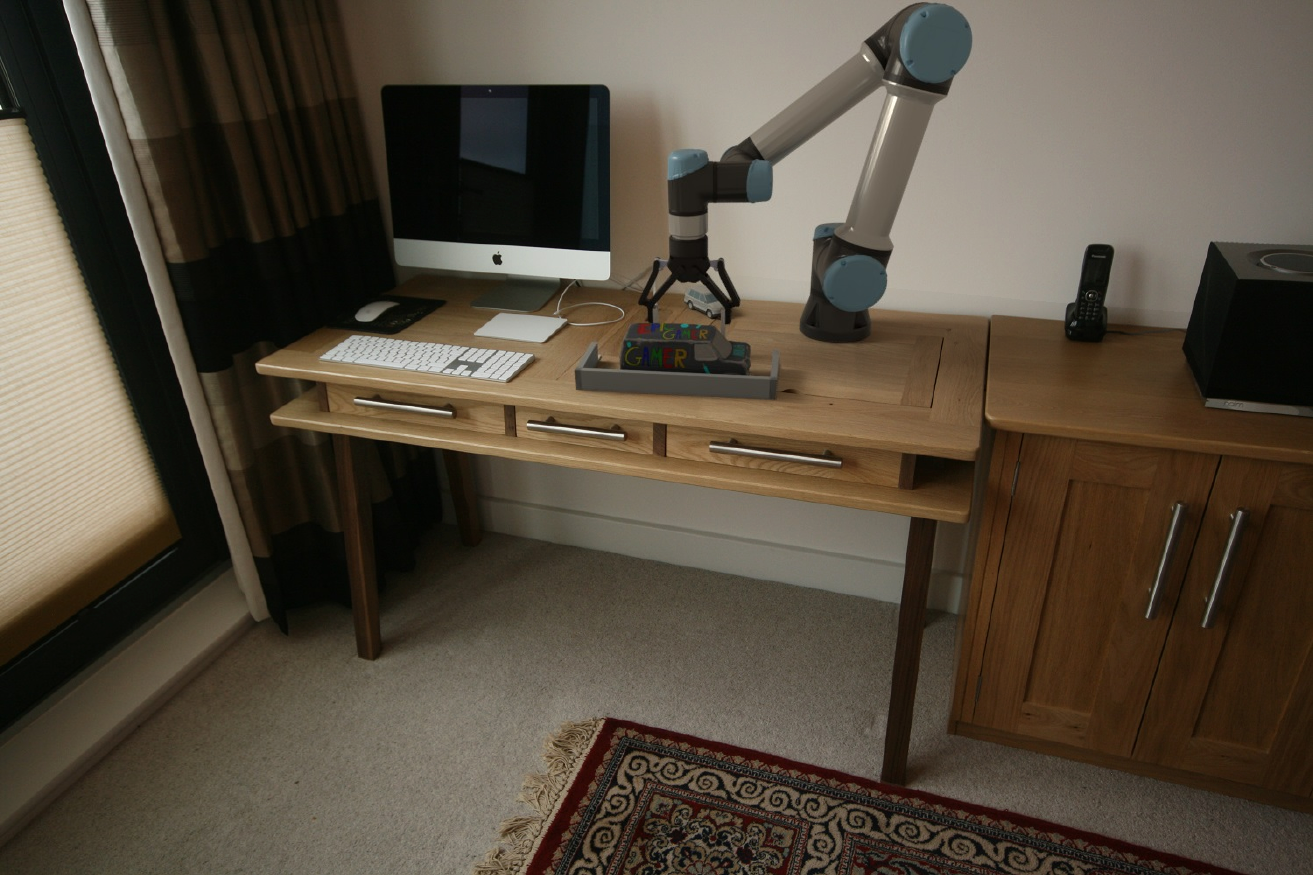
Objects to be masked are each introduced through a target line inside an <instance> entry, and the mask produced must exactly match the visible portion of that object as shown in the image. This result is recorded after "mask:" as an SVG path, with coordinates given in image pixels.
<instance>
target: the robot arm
mask: <svg viewBox="0 0 1313 875" xmlns="http://www.w3.org/2000/svg"><path fill="white" fill-rule="evenodd" d="M972 47H973V32H972V28H971V25H970V23H969V21H968V19H967V17H965V15H964V14H963V13H962V12H960V11H959V10H958V9H956V8H955V7H953V6H951V5H948V4H946V3H937V2H926V1H924V2H923V1H921V2H915V3H912V4H909V5H907V6H905V7H904V8H901V9H900V10H899V11H898V12H896V14H894V15H893V16H892V17H891V18H890V19H888V20H887V22H885V23H884V24H882V26H881V27H879V28H878V29H877V30H876V31H875V32H874V33H873V34H872V35H870V36H868V38H866V39H865V40H864V41H862V42H861V44H860V48H859V50H858V51H859V52H857V53H856V54H855V55H853V56H852V57H850V58H849V59H848V60H846V62H844V63H843V64H841V65H840V66H839V67H838V68H836V69H835V70H834V71H832V72H831V73H830V74H828V75H827V76H826V77H825V78H823V79H822V80H821V81H819V82H818V83H816V84H815V85H814V86H813V87H811V88H810V89H809V90H807V91H806V92H805V93H803V94H802V95H801V96H800V97H799V98H797V99H796V100H794V101H793V102H791V103H790V104H789V105H788V106H787V107H785V108H784V109H783V110H781V111H780V112H779V113H777V114H776V115H775V116H773V118H770V120H768V121H767V122H766V123H764V124H763V125H762V126H760V127H759V128H758V129H757V130H755V131H754V132H752V134H750V135H749V136H748V137H747V138H745V139H743V140H742V141H741V142H740V143H738V144H736V145H732V146H730V147H728V148H727V149H726V150H725V151H724V152H723V154H722V155H721V157H720V159H719V160H718V161H717V160H716V161H713V160H710V159H709V154H708V152H707V151H706V150H705V149H698V148H683V149H677V150H674V151H672V152H671V153H670V154H669V155H668V157H667V178H666V179H667V181H666V182H667V204H668V212H667V214H668V217H667V218H668V233H669V234H670V235H669V236H668V251H669V252H668V255H669V258H668V259H661V257H658V256H657V257H655V258H654V260H653V263H652V271H651V274H650V276H649V278H648V281H647V282H646V284H645V285H644V288H643V290H642V293H641V294H640V296H639V299H638V302H637V304H638V306H644V307H646V309H647V323H660V322H659V321H660V320H659V318H660V317H659V314H660V313H659V304H657V303H658V301H660V300H661V298H662V297H663V296H664V295H665V294H666V292H668V290H669V289H670V288H671V287H672V285H674V284H675V283H676V282H677V281H678V282H680V283H681V284H684V283H685V284H686V283H691V284H697V283H699V282H701V285H703V286H705V287H707V288H708V290H709V291H710V292H711V293H712V294H713V295H714V296H715V298H716V299H717V300H718V301H719V302H720V303H721V305H722V308H721V315H720V333H721V334H722V335H723V336H724V337H725V338H726V325H730V324H731V322H732V312H731V309H732V310H733V308H739V307H740V304H741V298H740V295H739V294H738V291H737V290H736V287H735V286H734V284H733V281H732V279H731V277H730V276H729V274H728V272H727V270H726V265H725V259H724V258H723V257H719V258H718V259H710V258H709V236H708V234H707V233H708V232H709V204H726V203H727V204H728V203H729V204H737V203H739V204H741V203H743V204H745V203H746V204H747V203H748V204H756V203H764V202H769V201H770V200H771V199H772V197H773V190H774V189H773V188H774V169H773V167H774V166H776V165H777V164H779V163H780V162H781V161H783V160H784V159H785V158H786V157H788V156H789V155H790V154H792V153H793V152H795V151H796V150H797V149H798V148H800V147H801V146H802V145H804V144H805V143H807V142H808V141H809V140H811V139H812V138H813V137H815V136H816V135H817V134H819V133H820V132H821V131H823V130H824V129H825V128H827V127H828V126H830V125H831V124H832V123H834V122H835V121H836V120H838V119H839V118H840V117H843V115H844V114H846V113H847V112H849V111H850V110H851V109H852V108H854V107H855V106H857V105H858V104H859V103H861V102H862V101H863V100H865V99H866V98H868V97H869V96H870V95H872V94H873V93H874V92H875V91H876V90H878V89H880V88H881V87H885V90H886V95H885V98H884V101H883V104H882V108H881V110H880V114H879V117H878V120H877V123H876V126H875V130H874V133H873V136H872V139H871V141H870V144H869V148H868V150H867V154H866V156H865V160H864V163H863V166H862V169H861V173H860V176H859V179H858V182H857V186H856V188H855V192H854V195H853V198H852V200H851V205H850V207H849V210H848V213H847V216H846V220H845V222H826V223H821V224H818V225H817V226H815V228H814V233H813V237H812V242H813V243H812V244H813V245H812V259H811V272H810V273H811V274H810V275H811V276H810V289H809V295H808V298H807V301H806V303H805V306H804V308H803V310H802V312H801V315H800V318H799V331H800V332H801V334H802V335H804V336H806V337H808V338H810V339H814V340H816V341H821V342H828V343H849V342H850V343H851V342H857V341H861V340H863V339H866V338H867V337H869V335H871V331H872V320H871V316H870V312H869V308H871V307H873V306H875V305H876V304H877V303H878V302H880V300H881V299H882V297H883V296H884V294H885V292H886V290H887V286H888V274H887V266H888V264H889V261H890V259H891V256H892V253H893V250H894V247H895V246H894V243H893V242H892V239H891V236H890V235H891V231H892V228H893V227H894V226H893V225H894V223H895V220H896V217H897V214H898V211H899V209H900V205H901V202H902V199H903V197H904V194H905V191H906V188H907V185H908V184H909V183H908V182H909V180H910V176H911V174H912V171H913V168H914V166H915V163H916V160H917V157H918V155H919V151H920V148H921V145H922V142H923V140H924V137H925V134H926V131H927V129H928V125H929V123H930V120H931V117H932V114H933V112H934V107H935V105H936V104H938V103H939V102H941V101H942V100H944V99H945V98H947V97H948V95H949V92H950V89H951V86H952V83H953V80H954V79H955V76H956V75H958V73H959V72H960V71H961V70H962V69H963V68H964V67H965V65H966V63H967V62H968V60H969V58H970V55H971V52H972V50H973V48H972ZM665 267H666V268H667V269H668V270H669V271H670V273H671V274H670V275H669V276H668V277H667V279H666V280H665V281H664V282H663V283H662V284H661V285H660V286H659V288H658V289H657V290H656V291H655V293H654V294H653V295H652V296H651V297H650V298H648V296H649V294H650V292H651V290H652V288H653V286H654V284H655V283H656V282H655V281H656V280H657V278H658V275H659V273H660V272H662V271H663V270H664V268H665ZM710 268H713V270H714V271H715V272H717V273H718V275H719V276H718V277H719V279H720V280H721V282H722V284H723V286H724V289H725V290H726V292H727V294H728V296H729V297H728V296H727V295H726V294H725V293H724V292H723V290H722V289H721V288H720V287H719V285H717V283H716V282H715V281H714V280H713V279H712V278H711V276H710V274H709V273H708V271H709V270H710ZM729 298H730V299H729Z"/></svg>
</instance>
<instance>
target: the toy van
mask: <svg viewBox="0 0 1313 875" xmlns="http://www.w3.org/2000/svg"><path fill="white" fill-rule="evenodd" d="M751 353H752V349H751V345H750V344H749V343H747V342H744V341H734V340H728V338H726V336H725V337H724V336H723V335H722V334H721V330H719V329H718V328H717V327H716V326H715V325H710V324H695V323H675V322H673V323H670V322H669V323H668V322H659V323H649V322H633V323H630V324H629V326H628V328H627V330H626V332H625V334H624V335H623V339H622V344H621V348H620V354H619V370H639V371H660V372H681V373H702V374H724V375H745V376H751V370H750V369H751V367H752V360H751Z"/></svg>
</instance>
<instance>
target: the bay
mask: <svg viewBox="0 0 1313 875" xmlns="http://www.w3.org/2000/svg"><path fill="white" fill-rule="evenodd" d="M598 345H599V344H598V341H590V343H589V346H587V349H586V350H585V352H584V354H583V355H582V357H581V358H580V360H579V362H578V363H577V365H576V367H575V369H574V379H575V383H574V384H575V390H577V391H593V392H594V391H595V392H596V391H597V392H599V391H600V392H613V393H614V392H616V393H619V392H620V393H634V394H635V393H636V394H637V393H639V394H657V395H672V396H674V395H676V396H693V397H694V396H695V397H696V396H697V397H712V398H730V399H731V398H735V399H750V400H751V399H753V400H772V401H775V400H777V392H778V391H777V390H778V380H779V368H780V349H773V351H772V356H771V358H772V360H771V367H770V376H766V375H764V376H763V375H760V376H759V375H750V376H745V375H724V374H702V373H681V372H660V371H639V370H620V369H615V368H613V369H612V368H596V366H597V364H598V362H599V361H600V359H601V357H602V355H601V354H599V347H598Z"/></svg>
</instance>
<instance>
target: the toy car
mask: <svg viewBox="0 0 1313 875" xmlns="http://www.w3.org/2000/svg"><path fill="white" fill-rule="evenodd" d="M683 303H684V304H685V305H686V306H688V309H689V310H691V311H693V310H697V311H699V312H701V313H703V314H705V315H706V316H707V318H708V319H710V320H712V319H715V318H716V317H719V316H721V308H722V305H721V303H720V302H719V301H718V300H717V299H716V298H715V296H714V295H713V294H712V293H711V292H710V291H709V290H708V288H707V287H706V286H704V285H703V284H696V285H692V286H688V289H687V290H686V292H685V293H684V300H683ZM731 313H733V308H732V309H731Z"/></svg>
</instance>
